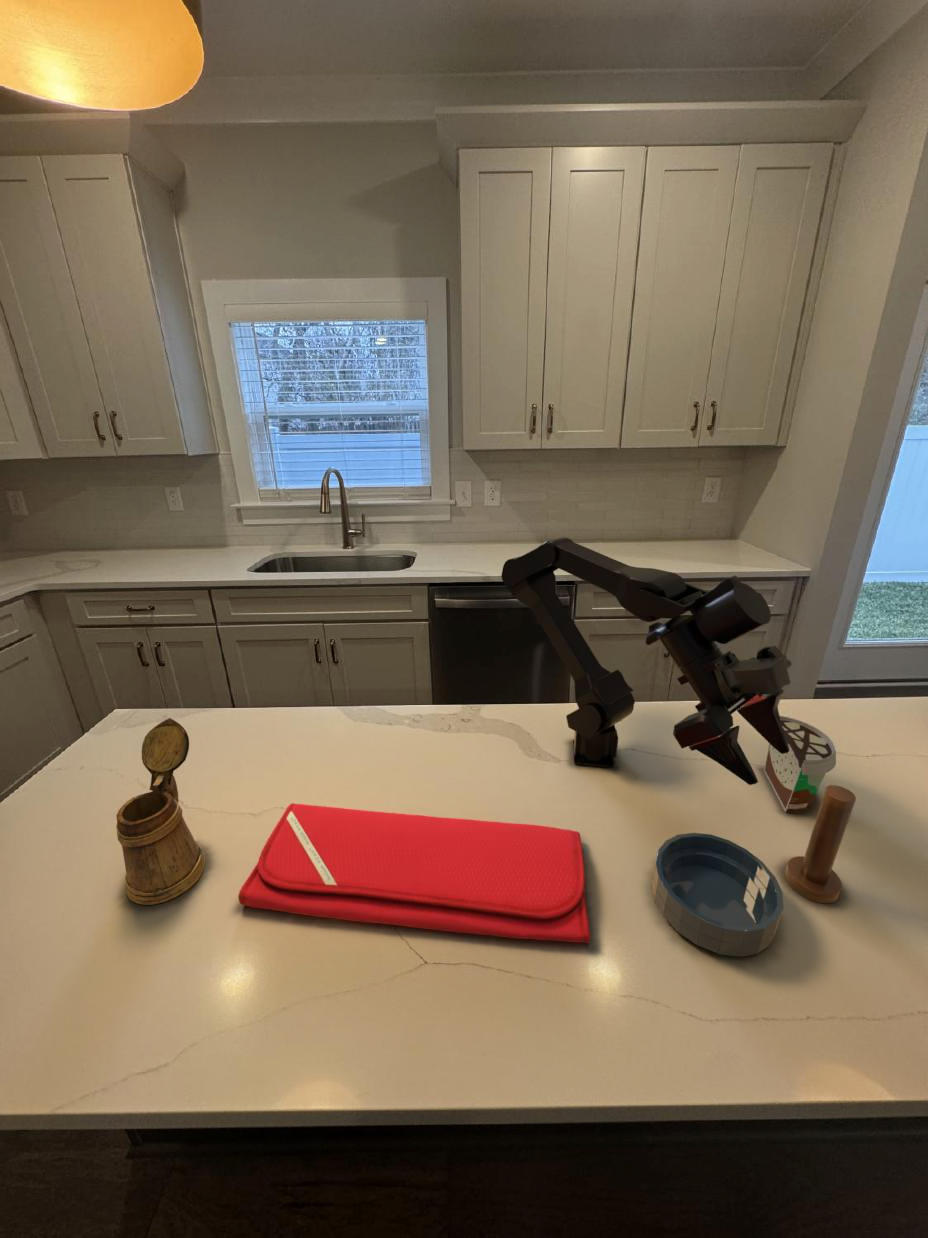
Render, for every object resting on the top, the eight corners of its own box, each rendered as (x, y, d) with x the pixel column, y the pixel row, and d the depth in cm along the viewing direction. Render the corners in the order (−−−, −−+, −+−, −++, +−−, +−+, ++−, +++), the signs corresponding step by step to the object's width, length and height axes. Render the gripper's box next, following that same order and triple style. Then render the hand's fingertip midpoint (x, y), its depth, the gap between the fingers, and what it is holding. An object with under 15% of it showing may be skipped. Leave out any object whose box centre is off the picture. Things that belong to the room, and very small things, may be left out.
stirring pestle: (796, 900, 60) (825, 808, 55) (777, 862, 66) (802, 774, 60) (848, 906, 60) (883, 813, 54) (825, 867, 65) (855, 779, 59)
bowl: (662, 950, 55) (668, 921, 54) (643, 853, 67) (647, 827, 66) (794, 969, 53) (804, 939, 51) (750, 866, 65) (757, 839, 63)
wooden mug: (230, 821, 74) (204, 716, 67) (185, 904, 61) (148, 785, 55) (169, 823, 74) (137, 717, 67) (111, 907, 61) (64, 787, 54)
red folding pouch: (590, 951, 55) (593, 927, 54) (237, 913, 60) (231, 890, 59) (578, 839, 70) (580, 818, 68) (295, 816, 75) (291, 796, 73)
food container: (837, 825, 71) (857, 767, 67) (789, 819, 72) (806, 762, 69) (802, 769, 82) (817, 717, 79) (760, 765, 83) (773, 713, 80)
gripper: (713, 654, 55) (803, 788, 51) (784, 612, 66) (862, 720, 62) (641, 689, 64) (713, 806, 60) (714, 647, 75) (779, 744, 71)
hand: (770, 767), depth 63 cm, fingers open, 9 cm apart
